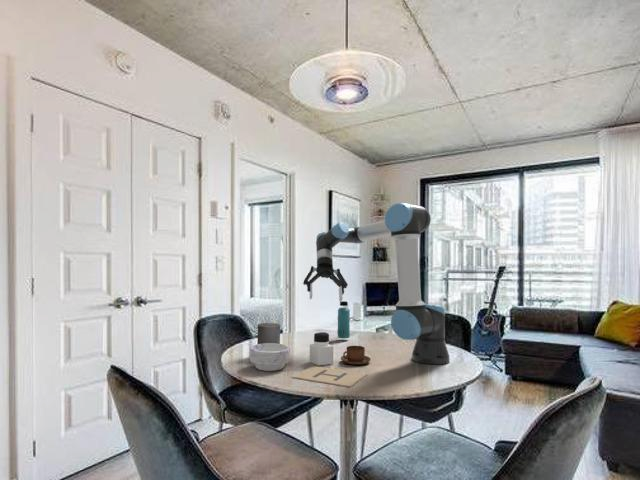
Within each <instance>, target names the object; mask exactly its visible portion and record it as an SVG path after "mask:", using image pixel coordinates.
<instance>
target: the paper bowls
mask: <svg viewBox="0 0 640 480" xmlns="http://www.w3.org/2000/svg"><path fill="white" fill-rule="evenodd" d="M290 357H291V348H290V346H288V345H287V344H282V343H280V344H276V343H264V344H253V345H252V346H251V347H250V349H249V361H250V363H252V364H253V365H254V366H255V368H256V369H257V370H260V371H262V370H263V372H274V371H279V370H282V369H283V368H284V367H285V364H286V363H288V362H290V359H291V358H290Z"/></svg>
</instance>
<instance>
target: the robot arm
mask: <svg viewBox="0 0 640 480" xmlns="http://www.w3.org/2000/svg"><path fill="white" fill-rule="evenodd" d="M431 220H432V219H431V215H430V211H428V209H426V208H425V207H424V206H421V205H416V204H411V203H408V202H396V203H394V204H392V205H391V206H390V207H389V208H388V209H387V211H386V212H385V215H384V220H381V221H376V222H373V223H368V224H364V225H361V226H356V227H349V226H348V225H347V224H346V223H344V222H342V221H341V222H337V223H336V224H335V225H333V226H332V227H331V228H330V229H329V230H328V231H326V232H325V231H324V232H323V231H322V232H320V233H318V234H317V236H316V242H315V245H316V246H315V248H316V267H314V265H311V267H310V270H309V272H308V274H307V275H306V276H305V278H304V280H303V282H302V283H303V284H302V285H304V286H306V288H307V290H306V291H307V292H308V293H309V300H312V298H313V283H314V282H316V281H317V279H319V278H320V277H321V278H322V279H323V278H325V279H328V278H329V279H330V280H331V281H332V282H333V283H334V284H335V285H336V286H337V287H338V296H339V297H338V299H339V303H340V302H341V301H343V295H344V293H345V289H347V287H348V283H347V282H348V281H346V279H345V277H344V276H343V275H342V273H341V269H340V268H337V269H334V266H333V264H334V263H333V248H334V247H335V246H337V245H338V244H339V243H345V244H346V243H347V244H356V245H357V244H362V243H364V242H367V241H371V240H377V239H380V238H386V237H391V239H393V240H394V242H395V243H394V244H395V254H396V257H395V258H396V268H397V269H396V270H397V271H396V273H397V287H398V288H397V289H398V301H397V303H396V304H395V312H394V313H393V315H392V316H391V320H390V323H391V324H390V325H391V328H392V331H393V332H394V333H395V334H396V336H397V337H398V338H400V339H402V340H405V341H410V340H413V341H414V340H415V342H414V347H413V350H412V353H411V359H412V360H413V362H417V363H422V364H427V365H445V363H446V364H448V362H449V363H450V360H451V359H450V353H449V350H448V348H447V344H446V314H445V313H446V312H445V307H444V306H442V305H435V304H427V303H425V302H424V301H423V300H422V293H421V279H420V265H419V264H420V263H419V249H418V240H419V238H420V237H421V233H424V232H425V231H426V230H427V229H428V228H429V226H430V225H431ZM315 272H316V274H315V275H313V273H315ZM312 275H313V276H312ZM395 334H394V335H395Z"/></svg>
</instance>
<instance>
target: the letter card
mask: <svg viewBox="0 0 640 480" xmlns="http://www.w3.org/2000/svg"><path fill="white" fill-rule="evenodd" d="M366 376H368V373H364V372H357V371H351V370H345V369H338V368H330V367H323V366H317V365H312V366H311V367H310V366H309V367H308V368H306V369H304V370H303V371H301V372H298V373H297V374H294V375H293V376H291V378H293V379H296V378H297V379H296V380H304V381H309V382H315V383H322V384H328V385H334V386H340V387H346V388H352V387H353V386H354V385H356V384H357V383H359V381H361V380H363V379H364V378H365V377H366Z"/></svg>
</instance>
